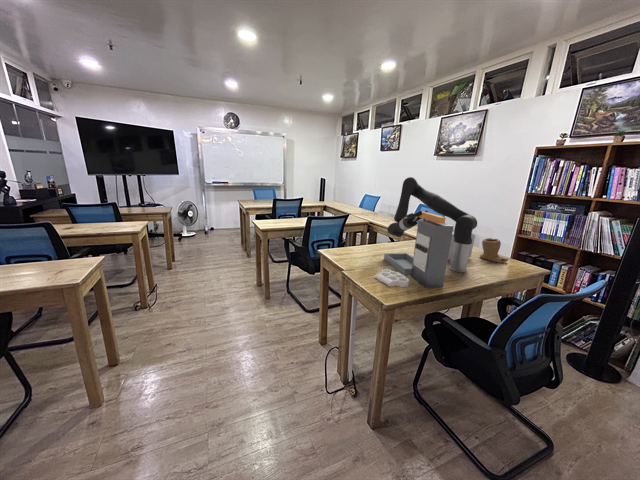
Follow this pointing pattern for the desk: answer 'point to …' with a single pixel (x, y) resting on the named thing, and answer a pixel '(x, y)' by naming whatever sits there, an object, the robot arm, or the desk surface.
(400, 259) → the tray
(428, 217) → the orange block
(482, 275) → the desk surface
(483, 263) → the desk surface
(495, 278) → the desk surface
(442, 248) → the cabinet
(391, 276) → the white brass knuckles
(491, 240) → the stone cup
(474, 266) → the desk surface
